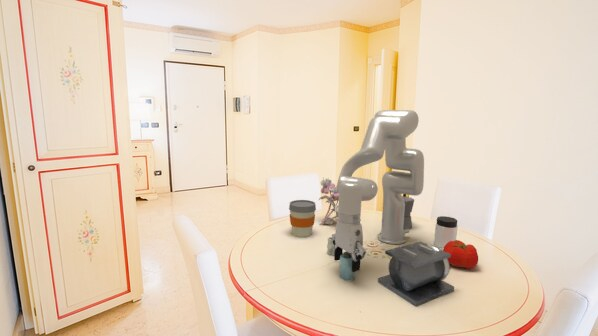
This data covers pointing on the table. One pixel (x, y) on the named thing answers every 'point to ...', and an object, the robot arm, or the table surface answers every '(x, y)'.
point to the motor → (417, 272)
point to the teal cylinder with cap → (346, 266)
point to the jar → (445, 230)
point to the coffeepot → (407, 212)
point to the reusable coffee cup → (302, 217)
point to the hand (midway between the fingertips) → (346, 265)
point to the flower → (330, 200)
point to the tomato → (461, 254)
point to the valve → (332, 247)
